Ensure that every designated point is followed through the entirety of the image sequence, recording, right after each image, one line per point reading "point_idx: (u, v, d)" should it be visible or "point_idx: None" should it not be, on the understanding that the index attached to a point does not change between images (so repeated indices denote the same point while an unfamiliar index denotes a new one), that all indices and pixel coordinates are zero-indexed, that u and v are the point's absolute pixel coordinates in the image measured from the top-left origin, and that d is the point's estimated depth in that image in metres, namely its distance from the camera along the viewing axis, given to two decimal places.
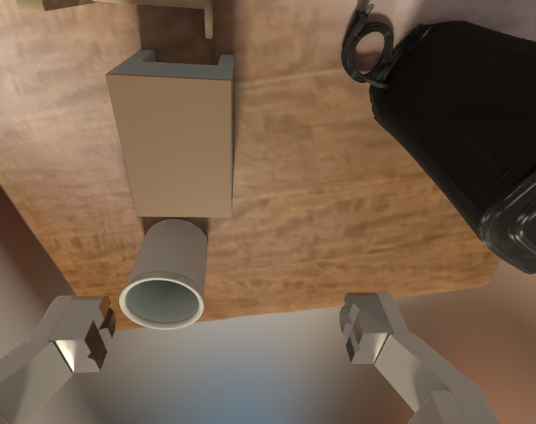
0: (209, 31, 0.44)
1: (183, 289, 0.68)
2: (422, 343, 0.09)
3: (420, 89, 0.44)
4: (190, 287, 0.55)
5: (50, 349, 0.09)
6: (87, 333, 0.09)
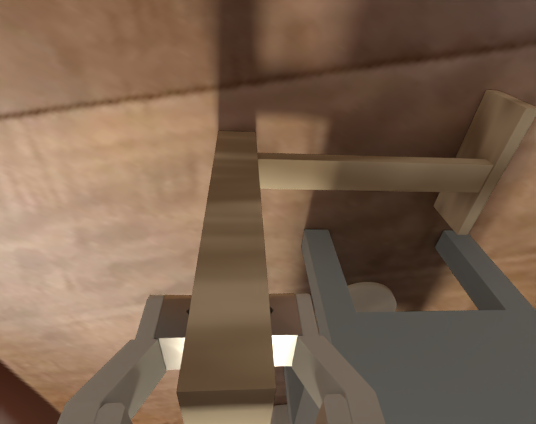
0: (470, 225, 0.22)
1: None
2: (330, 346, 0.09)
3: None
4: None
5: (155, 346, 0.09)
6: None
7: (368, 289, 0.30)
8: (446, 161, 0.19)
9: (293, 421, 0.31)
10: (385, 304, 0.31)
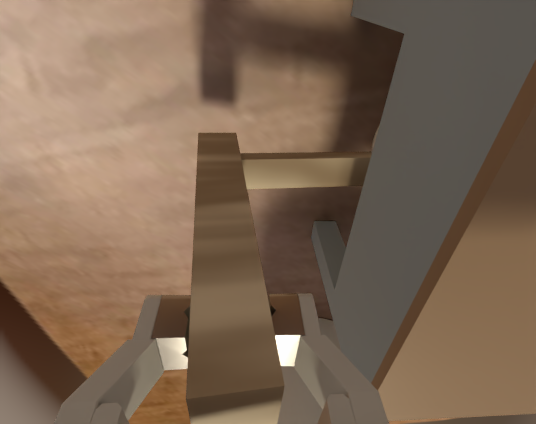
0: None
1: None
2: (332, 345, 0.09)
3: None
4: None
5: (152, 346, 0.09)
6: (185, 331, 0.09)
7: None
8: None
9: (334, 283, 0.23)
10: None
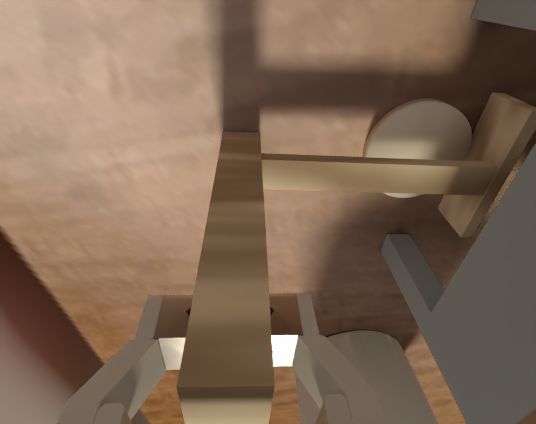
0: (474, 228, 0.22)
1: None
2: (330, 346, 0.09)
3: None
4: None
5: (155, 346, 0.09)
6: None
7: (435, 105, 0.20)
8: (450, 164, 0.19)
9: (428, 305, 0.21)
10: (455, 141, 0.21)
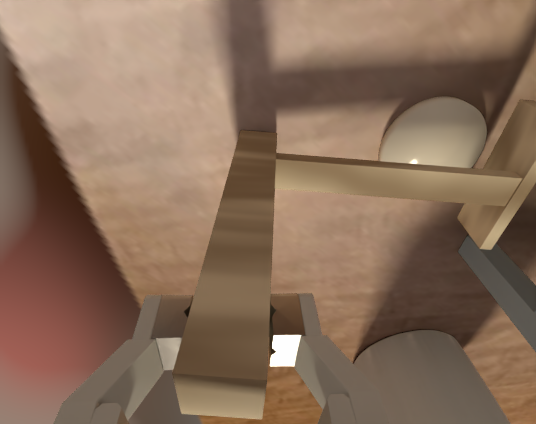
0: (494, 239, 0.21)
1: None
2: (333, 346, 0.09)
3: None
4: None
5: (152, 346, 0.09)
6: None
7: (454, 101, 0.20)
8: (471, 171, 0.19)
9: (529, 304, 0.22)
10: (470, 139, 0.21)
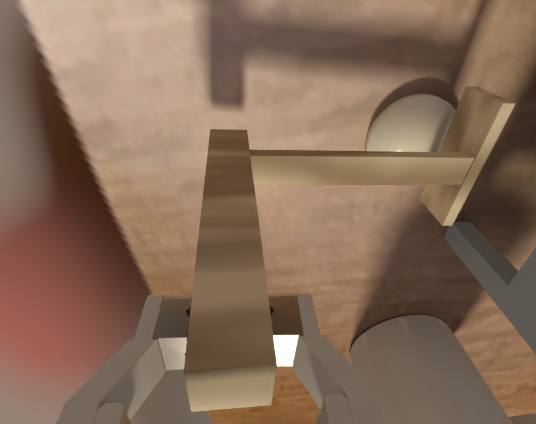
0: (454, 216, 0.23)
1: None
2: (331, 345, 0.09)
3: None
4: None
5: (154, 346, 0.09)
6: (187, 331, 0.09)
7: (430, 97, 0.22)
8: (430, 155, 0.20)
9: (503, 279, 0.25)
10: (446, 131, 0.24)
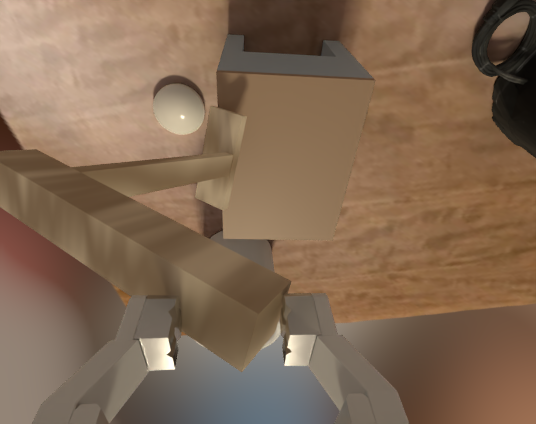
0: (228, 200, 0.31)
1: None
2: (349, 345, 0.09)
3: None
4: None
5: (135, 347, 0.09)
6: (169, 331, 0.09)
7: (174, 85, 0.42)
8: (210, 156, 0.26)
9: None
10: (193, 103, 0.44)
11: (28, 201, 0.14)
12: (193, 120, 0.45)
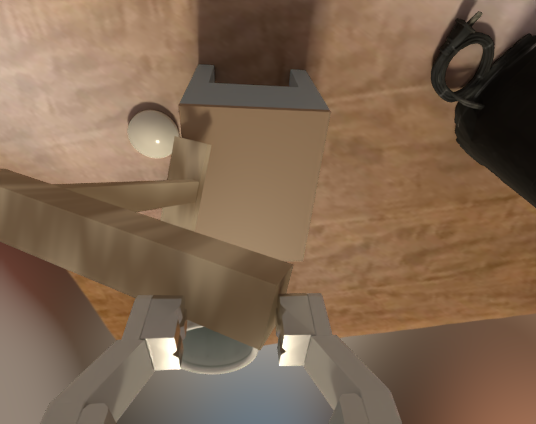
0: (194, 227, 0.31)
1: None
2: (343, 345, 0.09)
3: None
4: None
5: (142, 347, 0.09)
6: (175, 331, 0.09)
7: (146, 112, 0.43)
8: (178, 181, 0.27)
9: None
10: (166, 127, 0.45)
11: (6, 214, 0.13)
12: (168, 143, 0.46)
